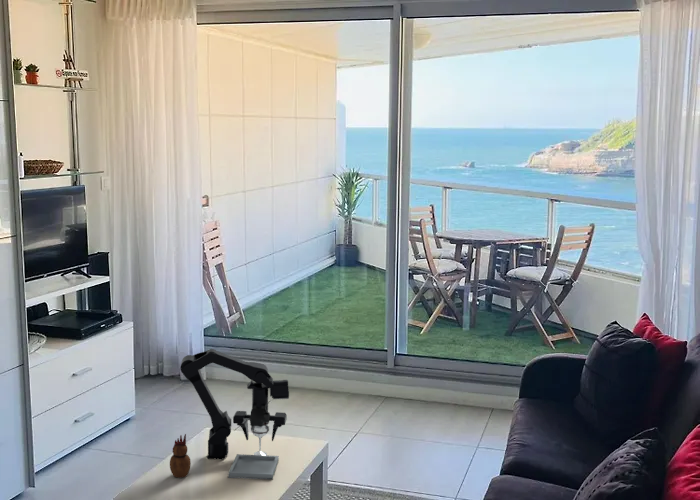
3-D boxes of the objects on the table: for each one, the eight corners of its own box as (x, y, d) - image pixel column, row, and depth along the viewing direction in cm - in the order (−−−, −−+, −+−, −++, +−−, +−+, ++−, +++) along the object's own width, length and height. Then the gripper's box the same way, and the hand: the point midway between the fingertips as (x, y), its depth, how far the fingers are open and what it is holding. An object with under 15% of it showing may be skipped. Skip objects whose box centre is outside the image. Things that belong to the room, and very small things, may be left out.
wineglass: (256, 448, 283) (256, 418, 281) (272, 452, 280) (272, 420, 279) (247, 456, 277) (247, 424, 275) (264, 459, 274) (264, 427, 272)
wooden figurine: (193, 473, 261) (193, 432, 259) (184, 481, 256) (184, 438, 254) (176, 470, 264) (175, 429, 261) (167, 477, 258) (166, 435, 256)
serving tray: (228, 477, 259) (228, 472, 259) (237, 458, 274) (237, 454, 274) (272, 479, 258) (272, 474, 258) (278, 460, 273) (278, 455, 273)
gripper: (230, 406, 268) (230, 448, 270) (282, 408, 267) (282, 450, 269) (236, 395, 279) (236, 436, 281) (287, 397, 278) (286, 438, 280)
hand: (260, 440), depth 278 cm, fingers open, 9 cm apart
